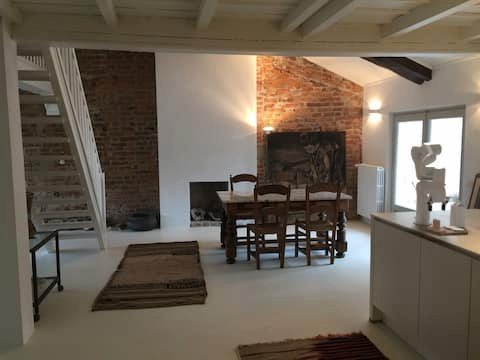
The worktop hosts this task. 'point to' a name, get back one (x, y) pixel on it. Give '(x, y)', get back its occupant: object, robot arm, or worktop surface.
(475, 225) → the worktop surface
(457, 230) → the board
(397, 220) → the worktop surface
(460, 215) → the milk carton
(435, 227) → the stub
